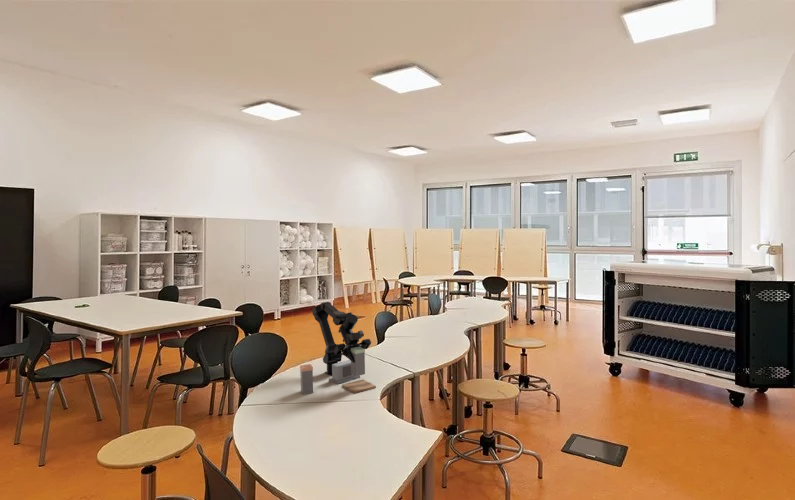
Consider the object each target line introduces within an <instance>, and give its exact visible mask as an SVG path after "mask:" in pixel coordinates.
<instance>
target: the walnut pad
mask: <svg viewBox="0 0 795 500" xmlns="http://www.w3.org/2000/svg"><path fill="white" fill-rule="evenodd" d="M341 387H342V388H344V389H346V390H348V391H349V392H351V393H353V394H359V393H362V392H366V391H369V390H370V391H371V390H373V389H376V388H377V386H376V385H374V384H373V383H371V382H369V381H368V380H365V379H359V380H356V381H355V380H354V381H352V382H347V383H342V385H341Z"/></svg>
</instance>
